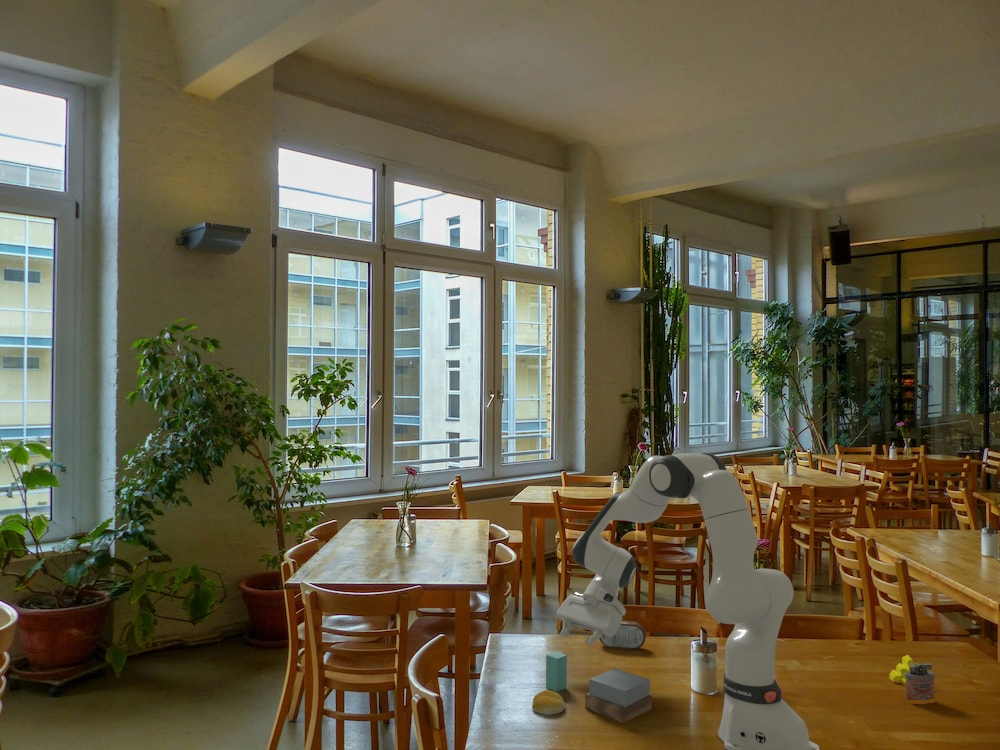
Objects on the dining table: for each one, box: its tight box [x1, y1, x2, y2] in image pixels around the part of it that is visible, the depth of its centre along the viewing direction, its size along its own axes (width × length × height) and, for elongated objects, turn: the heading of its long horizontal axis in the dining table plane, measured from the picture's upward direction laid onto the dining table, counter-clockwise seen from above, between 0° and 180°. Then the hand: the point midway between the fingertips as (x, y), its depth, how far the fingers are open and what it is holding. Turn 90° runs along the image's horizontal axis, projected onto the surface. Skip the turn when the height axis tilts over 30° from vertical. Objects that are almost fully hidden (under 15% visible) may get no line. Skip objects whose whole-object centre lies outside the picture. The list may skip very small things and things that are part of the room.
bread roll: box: [531, 689, 566, 716], centre depth 199 cm, size 8×9×4 cm
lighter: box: [905, 662, 936, 700], centre depth 205 cm, size 8×3×10 cm, turn 99°
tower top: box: [588, 667, 651, 707], centre depth 199 cm, size 11×11×4 cm
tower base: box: [584, 692, 653, 724], centre depth 199 cm, size 12×12×4 cm
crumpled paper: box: [888, 654, 916, 683], centre depth 220 cm, size 6×8×8 cm
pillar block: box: [545, 651, 568, 693], centre depth 212 cm, size 4×4×9 cm
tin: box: [598, 620, 647, 650], centre depth 246 cm, size 15×3×8 cm, turn 80°
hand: (575, 640), depth 218 cm, fingers open, 8 cm apart
